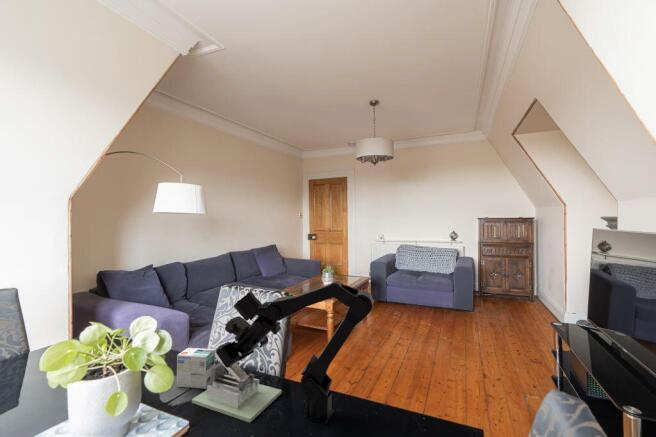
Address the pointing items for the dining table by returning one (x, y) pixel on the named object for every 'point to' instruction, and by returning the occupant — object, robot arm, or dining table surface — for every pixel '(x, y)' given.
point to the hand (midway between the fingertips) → (229, 361)
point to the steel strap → (237, 373)
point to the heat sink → (230, 388)
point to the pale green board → (245, 411)
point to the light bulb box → (195, 367)
